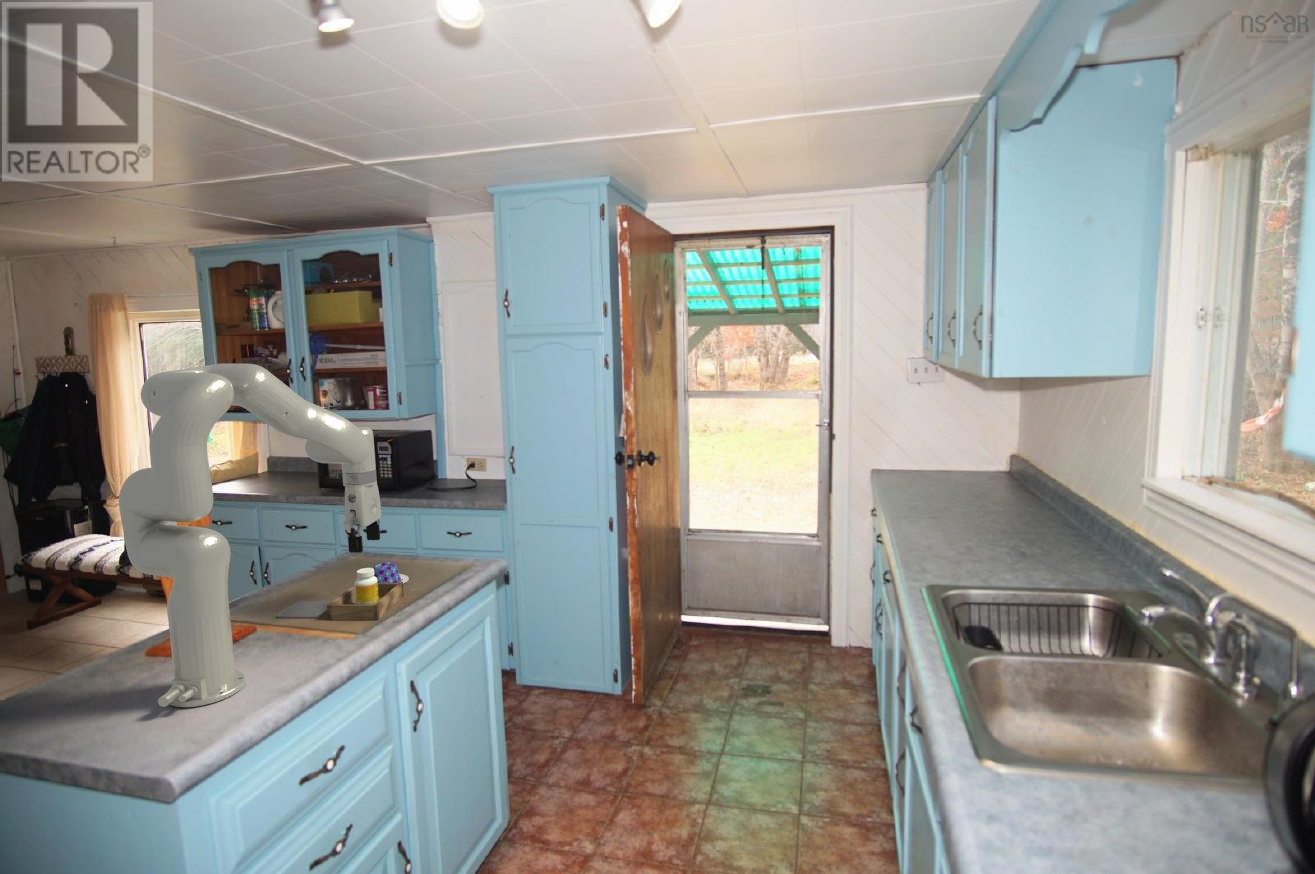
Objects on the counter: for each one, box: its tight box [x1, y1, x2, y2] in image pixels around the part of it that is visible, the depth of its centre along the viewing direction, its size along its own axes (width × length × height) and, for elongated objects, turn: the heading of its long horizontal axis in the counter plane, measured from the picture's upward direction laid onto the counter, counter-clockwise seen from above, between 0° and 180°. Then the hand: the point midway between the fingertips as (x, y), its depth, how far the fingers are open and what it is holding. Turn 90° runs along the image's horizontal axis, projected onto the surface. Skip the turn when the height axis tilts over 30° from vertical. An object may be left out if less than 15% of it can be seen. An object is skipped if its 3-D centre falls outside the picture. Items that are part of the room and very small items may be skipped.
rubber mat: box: [275, 600, 334, 619], centre depth 170 cm, size 10×10×1 cm
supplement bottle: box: [353, 567, 380, 605], centre depth 171 cm, size 5×5×10 cm
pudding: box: [372, 562, 410, 584], centre depth 189 cm, size 12×12×5 cm
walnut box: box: [326, 582, 405, 621], centre depth 172 cm, size 16×12×4 cm
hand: (365, 545), depth 170 cm, fingers open, 9 cm apart
